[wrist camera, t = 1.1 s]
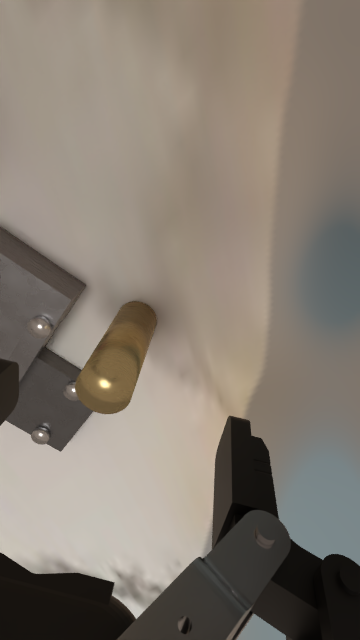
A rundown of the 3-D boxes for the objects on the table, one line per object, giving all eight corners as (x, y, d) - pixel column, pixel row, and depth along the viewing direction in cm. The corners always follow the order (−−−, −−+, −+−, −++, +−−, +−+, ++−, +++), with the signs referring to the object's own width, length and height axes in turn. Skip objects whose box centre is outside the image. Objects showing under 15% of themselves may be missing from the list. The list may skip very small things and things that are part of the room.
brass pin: (110, 322, 35) (65, 394, 24) (131, 293, 34) (92, 356, 23) (142, 344, 36) (112, 422, 25) (164, 316, 34) (142, 387, 24)
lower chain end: (-71, 360, 39) (-89, 372, 37) (-40, 294, 35) (-58, 304, 33) (67, 439, 42) (58, 455, 40) (108, 387, 39) (101, 401, 36)
